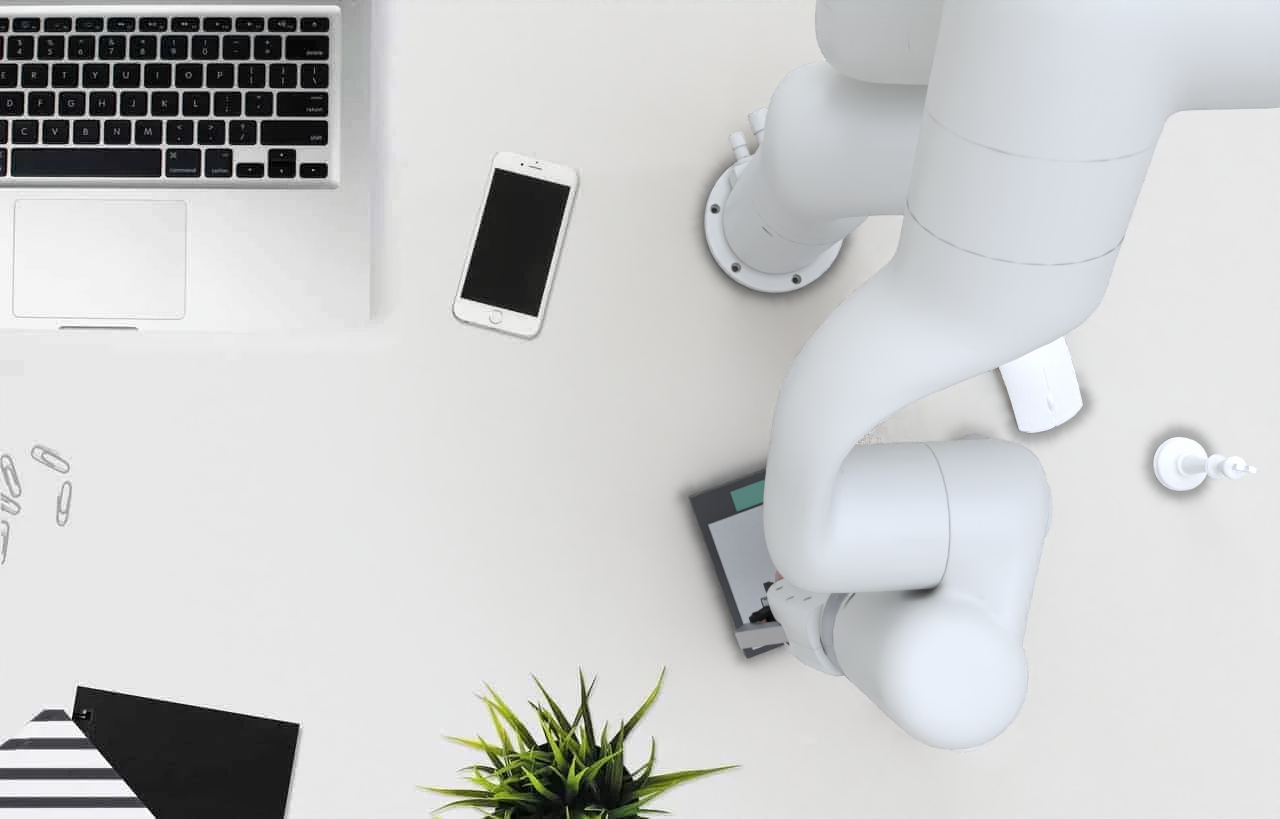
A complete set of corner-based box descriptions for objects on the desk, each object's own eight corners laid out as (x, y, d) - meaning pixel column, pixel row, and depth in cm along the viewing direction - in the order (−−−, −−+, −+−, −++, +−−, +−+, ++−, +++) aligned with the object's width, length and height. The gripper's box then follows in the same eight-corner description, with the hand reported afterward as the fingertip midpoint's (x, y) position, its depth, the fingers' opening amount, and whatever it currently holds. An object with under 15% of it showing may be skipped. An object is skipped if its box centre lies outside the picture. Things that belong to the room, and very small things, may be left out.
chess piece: (1199, 495, 92) (1274, 504, 82) (1148, 484, 91) (1217, 492, 81) (1209, 442, 92) (1285, 445, 82) (1158, 432, 91) (1228, 433, 81)
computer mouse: (1021, 441, 91) (1033, 441, 88) (970, 319, 91) (980, 316, 88) (1088, 412, 91) (1101, 411, 89) (1037, 290, 91) (1049, 287, 89)
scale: (688, 496, 89) (690, 498, 87) (823, 447, 90) (829, 448, 88) (744, 654, 89) (748, 660, 87) (879, 604, 90) (886, 609, 88)
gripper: (999, 521, 60) (905, 500, 78) (730, 620, 59) (697, 577, 77) (1040, 638, 60) (937, 591, 78) (772, 739, 59) (729, 668, 77)
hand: (818, 584), depth 77 cm, fingers closed on bowl, 6 cm apart
